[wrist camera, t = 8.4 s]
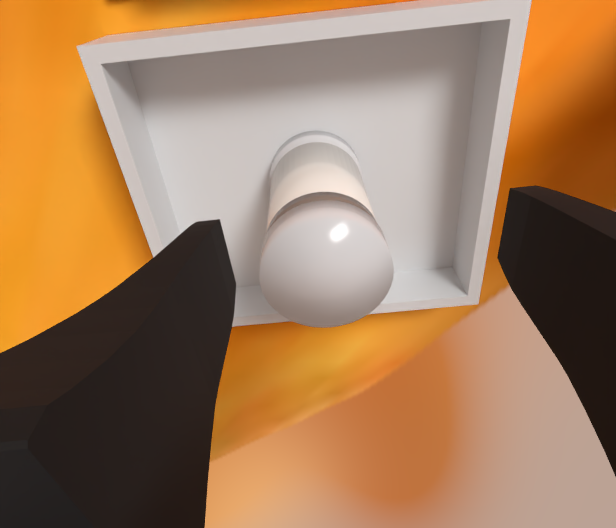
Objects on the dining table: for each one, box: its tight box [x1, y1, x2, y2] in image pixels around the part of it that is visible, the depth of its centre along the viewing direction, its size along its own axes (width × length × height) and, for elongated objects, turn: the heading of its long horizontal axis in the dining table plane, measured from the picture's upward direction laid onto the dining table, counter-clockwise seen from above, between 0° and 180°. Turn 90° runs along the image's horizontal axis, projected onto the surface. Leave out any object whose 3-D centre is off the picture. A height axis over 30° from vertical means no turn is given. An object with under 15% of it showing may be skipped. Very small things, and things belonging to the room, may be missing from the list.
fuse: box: [259, 131, 394, 327], centre depth 17 cm, size 4×4×8 cm
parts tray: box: [77, 0, 532, 327], centre depth 19 cm, size 15×13×3 cm
